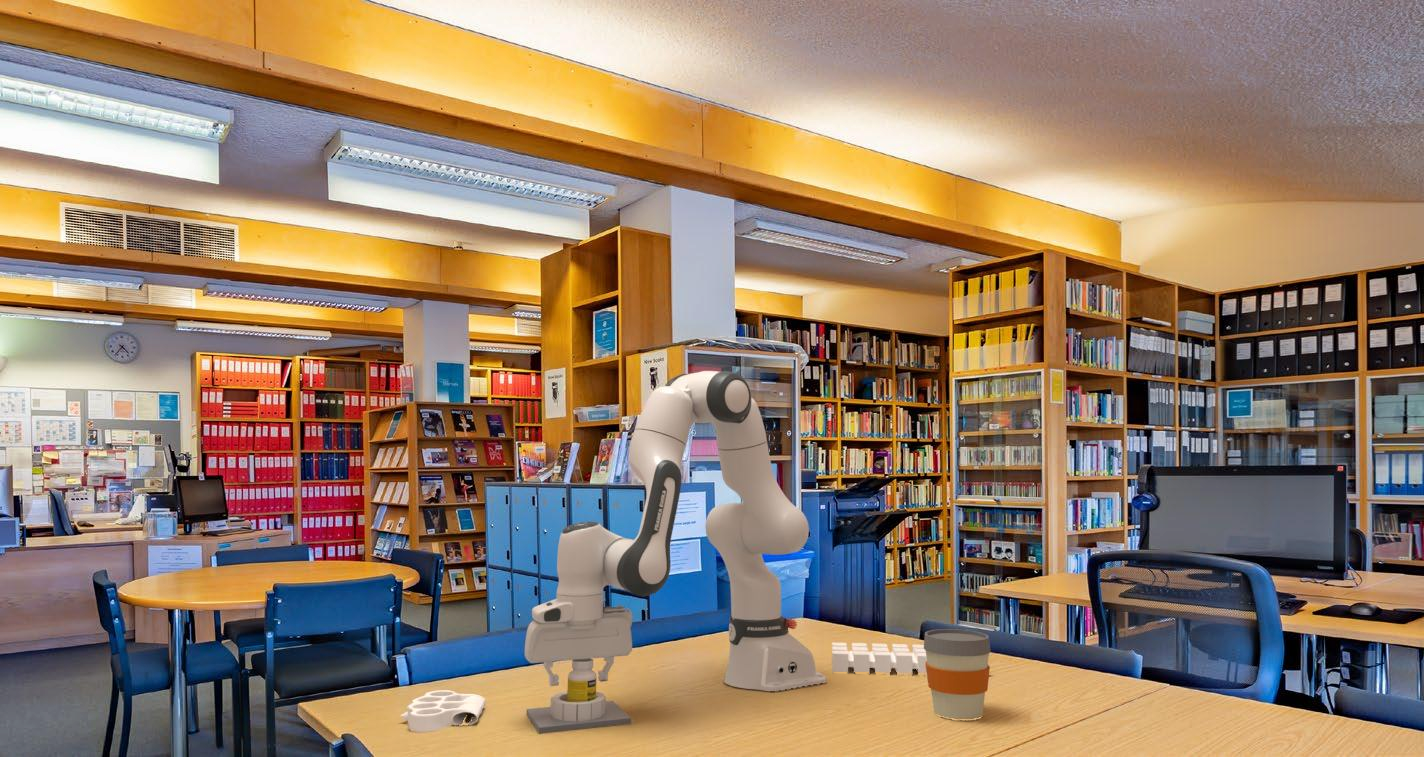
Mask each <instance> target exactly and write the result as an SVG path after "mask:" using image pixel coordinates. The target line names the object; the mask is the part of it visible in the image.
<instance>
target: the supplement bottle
mask: <svg viewBox="0 0 1424 757" xmlns="http://www.w3.org/2000/svg"><path fill="white" fill-rule="evenodd" d="M571 662H572V663H571V668H572V670H571V671H570V672H569V673H568V675H567V689H566V690H567V702H585V701H590V700H594V699H596V692H597V679H598V678H597V673H596V672H595V671H594V670H593V668H594V658H591V659H578V660H571Z"/></svg>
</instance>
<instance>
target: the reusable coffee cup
mask: <svg viewBox="0 0 1424 757" xmlns="http://www.w3.org/2000/svg"><path fill="white" fill-rule="evenodd" d="M923 641H924V642H923V645H924V649H925V650H926V657H927V662H926V663H925V665H926V672H927V676H926V677H927V685H928V688H929V689H930V692H931V698H932V699H931V700H932V705H933V712H935V713H936V714H938V715H940V716H944V717H948V718H954V719H974V718H979V717H981V716H982V715H983V716H984V705H985V695H986V692H988V688H989V687H988V686H989V679H990V678H989V677H990V667H991V666H990V665H989V656H990V653H991V652H992V650H991V643H990V636H989V635H988V634H986V633H983V632H981V631H975V630H969V629H968V630H967V629H956V628H954V629H953V628H944V629H943V628H942V629H931V630H928V631H925V632H924V639H923ZM935 713H934V714H935Z"/></svg>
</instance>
